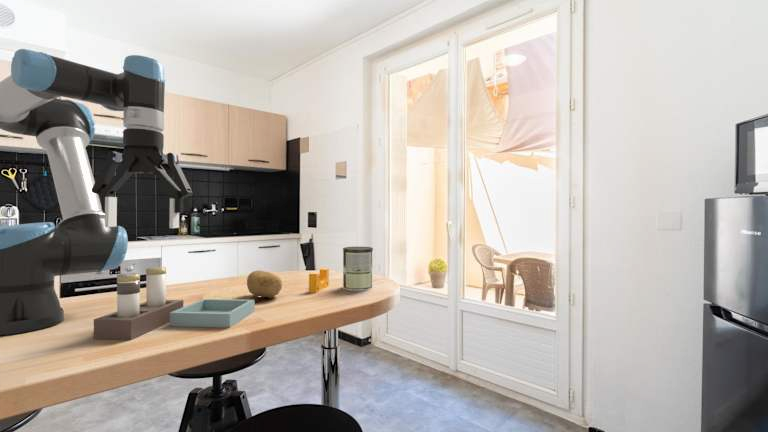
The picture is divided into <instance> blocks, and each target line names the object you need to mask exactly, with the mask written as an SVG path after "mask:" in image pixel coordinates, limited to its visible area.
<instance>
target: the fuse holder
mask: <svg viewBox="0 0 768 432" xmlns="http://www.w3.org/2000/svg"><path fill="white" fill-rule="evenodd" d="M182 307H184V299H166V305H164V306H161V307H146V301H144V302H140V315H137V316H135V317H132V318H123V317H117V311H114V312H112V313H111V312H110V313H107V314H105V315H103V316H100V317H97V318H94V319H93V339H94V340H122V341H124V340H126V341H132V340H134V339H136V338H139V337H141V336H143V335H145V334H147V333H149V332H152V331H154V330H155V329H156V330H157V329H159V328H160V327H162V326H164V325H166V324H170V312H173V311H175V310H178V309H180V308H182Z"/></svg>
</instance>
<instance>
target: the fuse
mask: <svg viewBox="0 0 768 432" xmlns="http://www.w3.org/2000/svg"><path fill="white" fill-rule="evenodd" d="M145 275H146V276H145V278H146V279H145V280H146V284H145V288H146V289H145V290H146V291H145V292H146V294H145V295H146V296H145V297H146V300H145V302H146V307H161V306H164V305H166V300H167V299H166V298H167V291H166V290H167V277H166V276H167V267H162V266H161V267H160V266H159V267H157V266H156V267H149V268H146V269H145Z"/></svg>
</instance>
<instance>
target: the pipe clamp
mask: <svg viewBox="0 0 768 432" xmlns="http://www.w3.org/2000/svg"><path fill="white" fill-rule="evenodd" d="M329 270H330V269H329V268H320V269H319V272H311V273H309V274H308V293H312V294H313V293H315V294H317V293H319V292H320V291H322V290H324V289H326V288H327V287H328V286H330V284H329V281H330V280H329V274H330V273H329Z"/></svg>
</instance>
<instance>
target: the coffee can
mask: <svg viewBox="0 0 768 432" xmlns="http://www.w3.org/2000/svg"><path fill="white" fill-rule="evenodd" d="M373 250H374V249H373V247H371V246H346V247H342V251H343V252H342V253H343V254H342V255H343V258H342V260H343V261H342V262H343V263H342V265H343V266H342V267H343V268H342V270H343V271H342V273H343V276H342V281H343V282H342V288H343V290H346V291H354V292H355V291H356V292H358V291H359V292H361V291H362V292H363V291H369V290H372V289H373Z"/></svg>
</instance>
